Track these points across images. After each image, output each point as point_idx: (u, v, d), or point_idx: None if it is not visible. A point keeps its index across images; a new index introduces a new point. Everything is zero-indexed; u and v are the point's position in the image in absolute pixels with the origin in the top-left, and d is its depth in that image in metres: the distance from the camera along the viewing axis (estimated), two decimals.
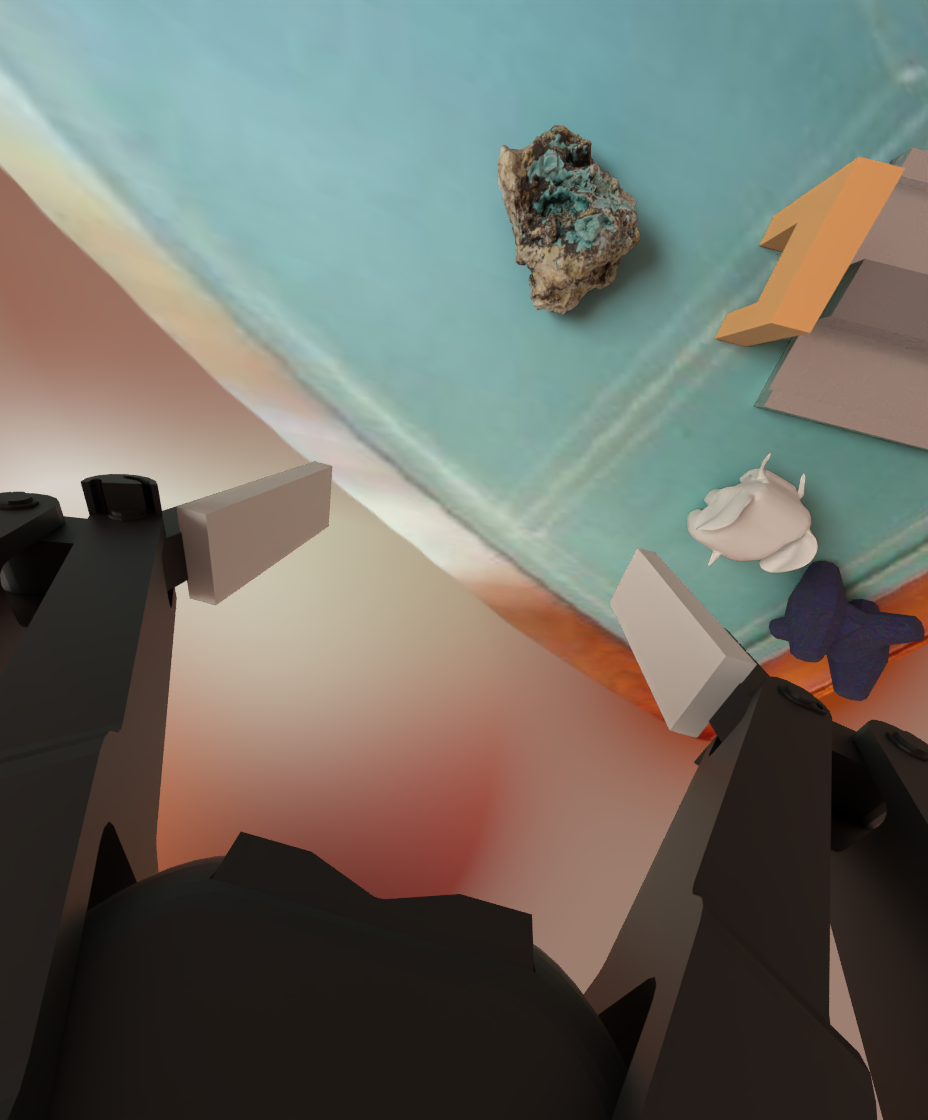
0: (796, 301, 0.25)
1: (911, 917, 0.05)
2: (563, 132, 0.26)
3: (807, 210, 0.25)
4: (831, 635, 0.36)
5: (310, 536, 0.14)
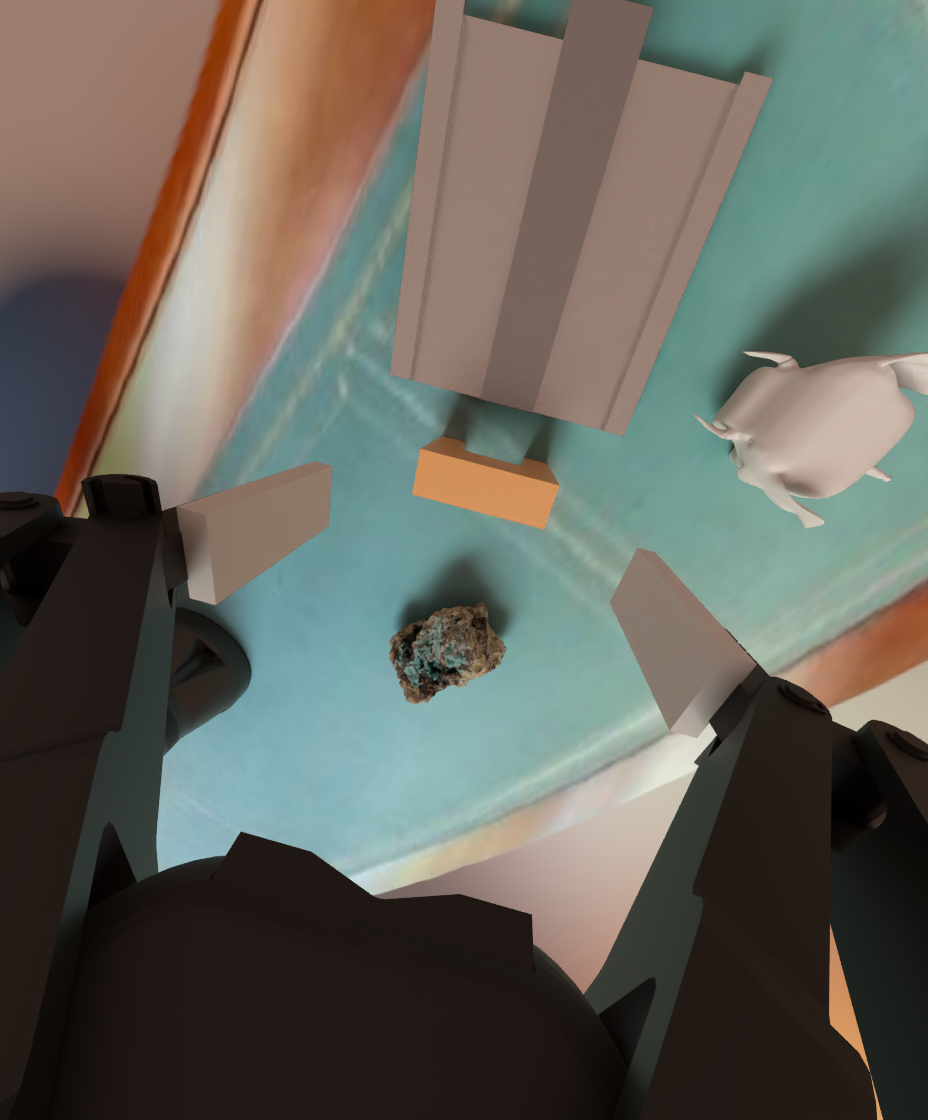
0: (525, 510, 0.23)
1: (911, 917, 0.05)
2: (393, 656, 0.35)
3: None
4: None
5: (310, 536, 0.14)
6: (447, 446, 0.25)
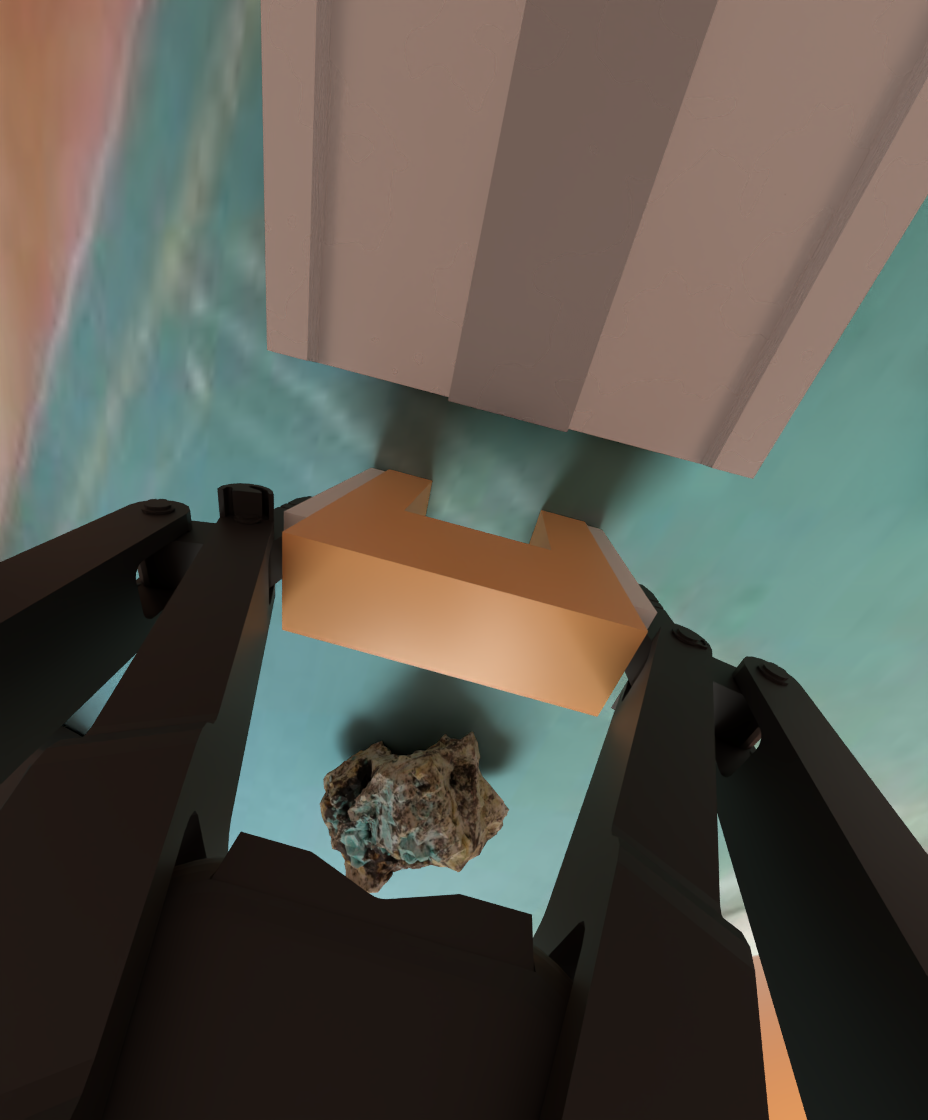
0: (554, 677, 0.09)
1: (783, 825, 0.06)
2: (325, 812, 0.22)
3: None
4: None
5: None
6: (379, 504, 0.11)
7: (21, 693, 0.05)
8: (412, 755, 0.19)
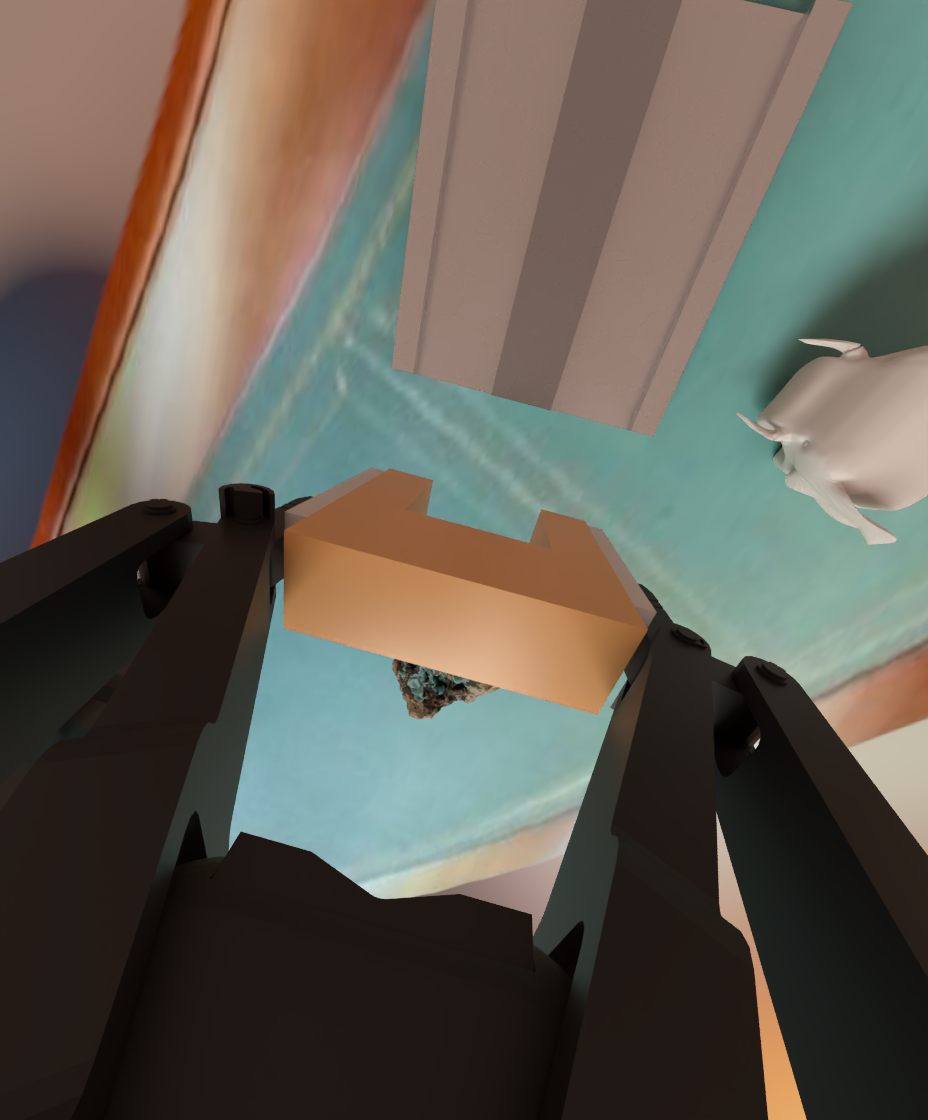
0: (554, 675, 0.09)
1: (783, 825, 0.06)
2: (396, 667, 0.33)
3: None
4: None
5: None
6: (380, 503, 0.11)
7: (22, 693, 0.05)
8: None
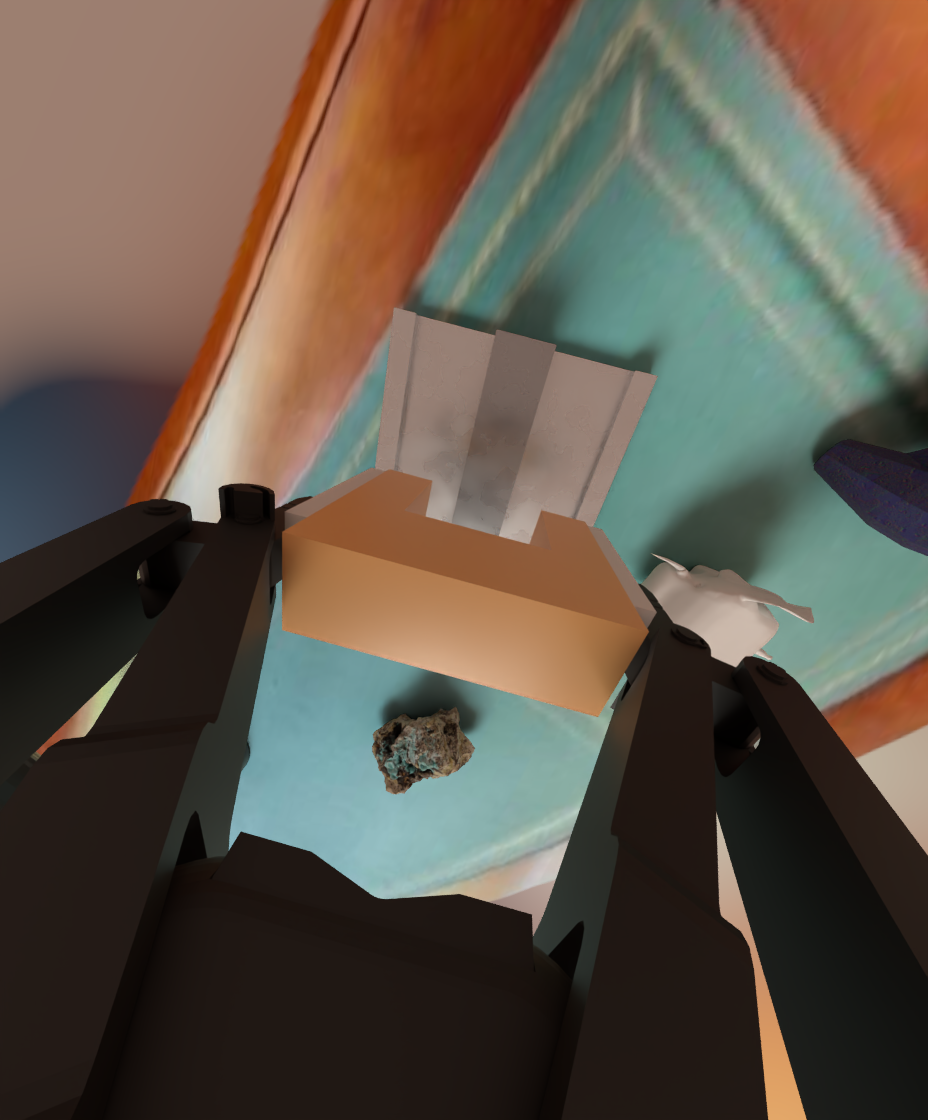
0: (555, 677, 0.09)
1: (783, 825, 0.06)
2: (375, 750, 0.40)
3: None
4: None
5: None
6: (379, 504, 0.11)
7: (22, 693, 0.05)
8: (424, 717, 0.37)
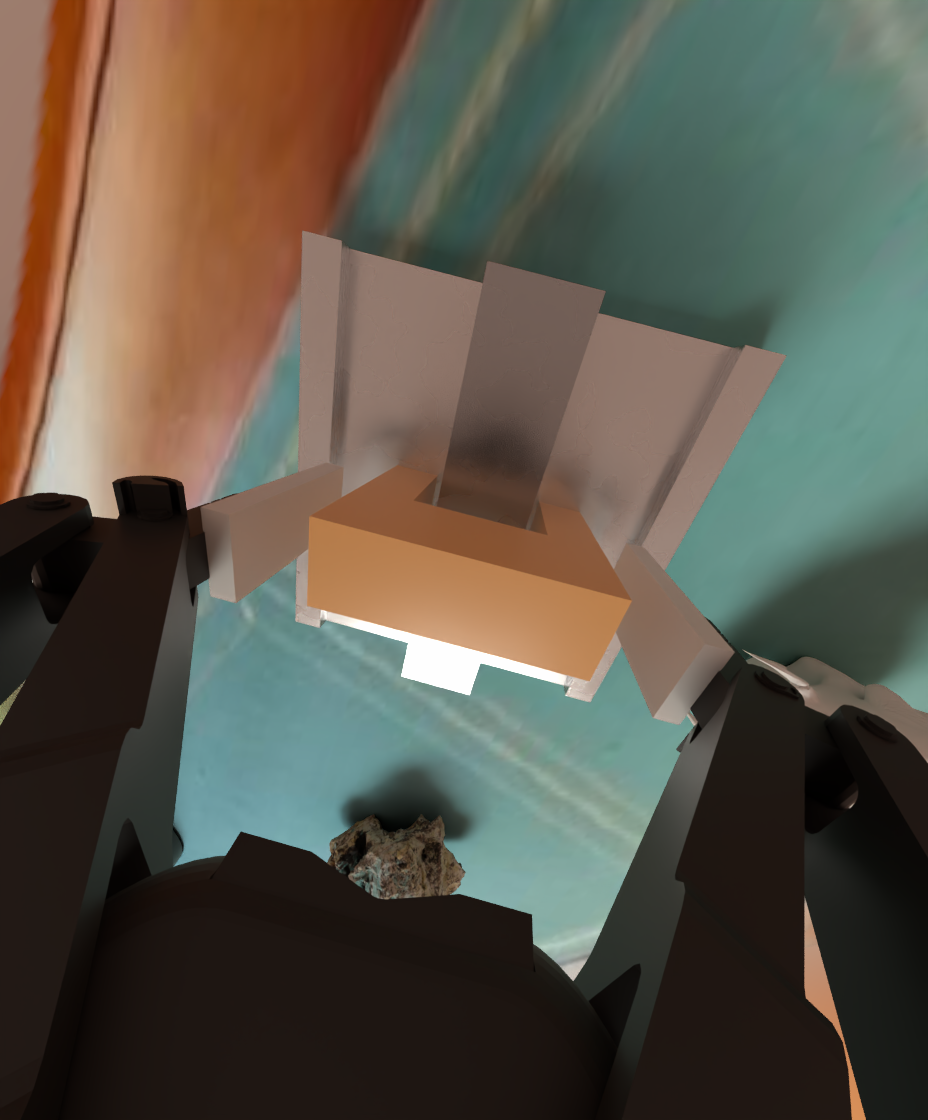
0: (550, 645, 0.10)
1: (882, 894, 0.05)
2: None
3: None
4: None
5: None
6: (391, 495, 0.13)
7: None
8: (395, 836, 0.27)
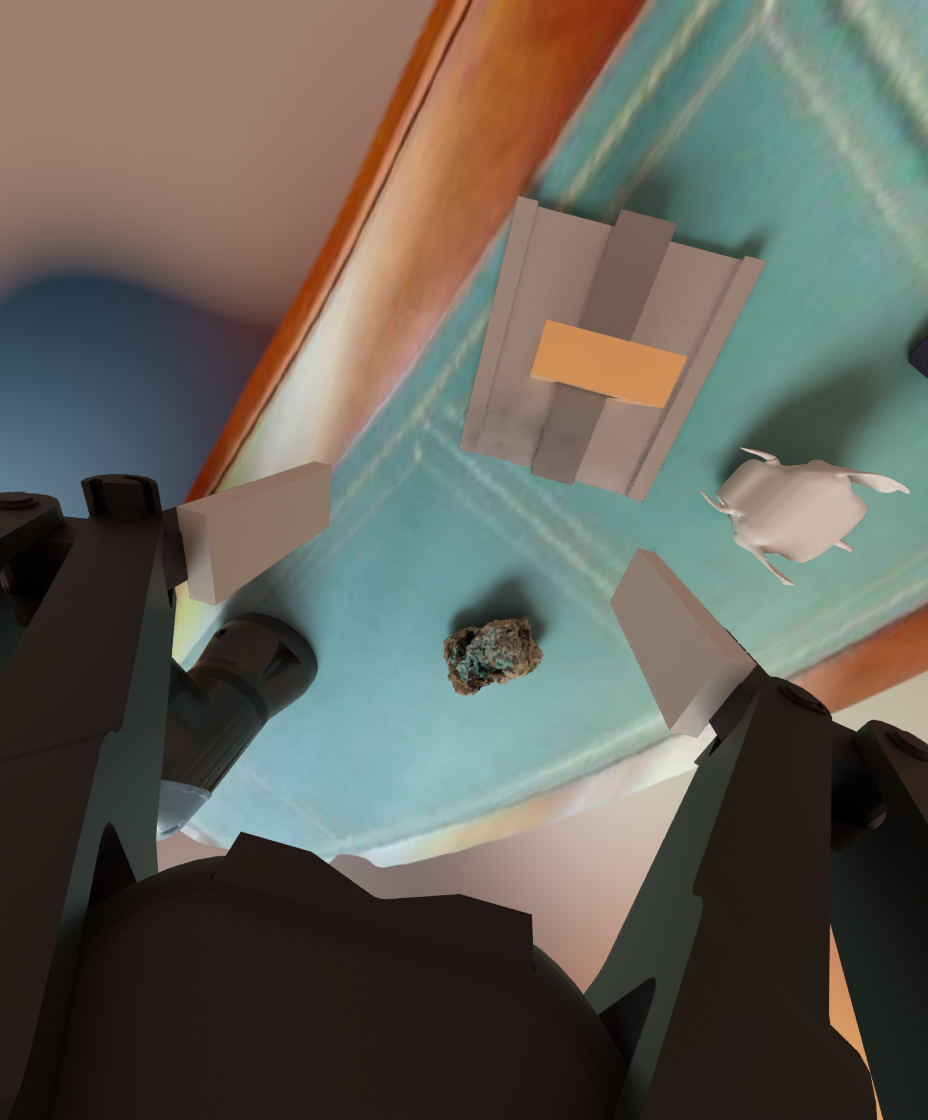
0: (647, 386, 0.22)
1: (911, 917, 0.05)
2: (448, 654, 0.42)
3: (550, 379, 0.26)
4: None
5: (310, 536, 0.14)
6: None
7: None
8: None
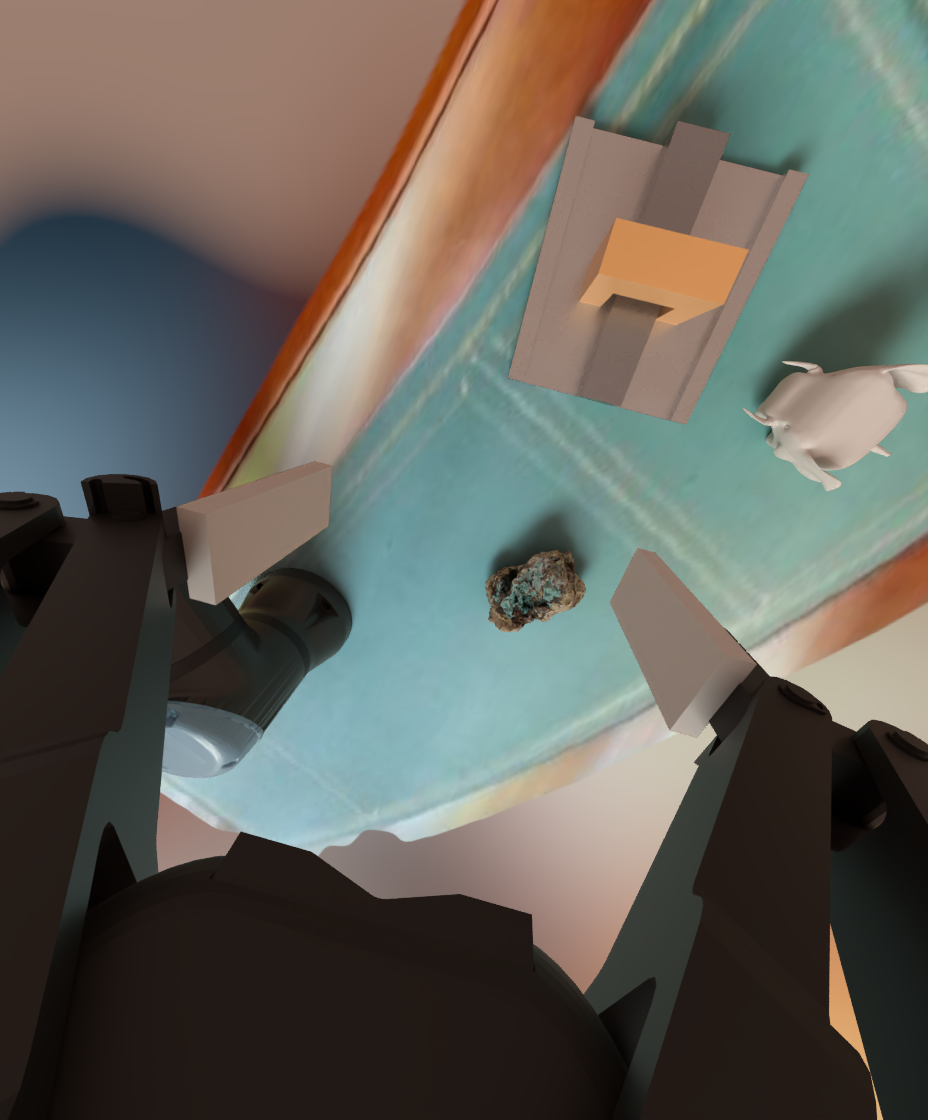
0: (709, 282, 0.24)
1: (911, 917, 0.05)
2: (491, 592, 0.43)
3: (609, 290, 0.27)
4: None
5: (310, 536, 0.14)
6: None
7: None
8: None
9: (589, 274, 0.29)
